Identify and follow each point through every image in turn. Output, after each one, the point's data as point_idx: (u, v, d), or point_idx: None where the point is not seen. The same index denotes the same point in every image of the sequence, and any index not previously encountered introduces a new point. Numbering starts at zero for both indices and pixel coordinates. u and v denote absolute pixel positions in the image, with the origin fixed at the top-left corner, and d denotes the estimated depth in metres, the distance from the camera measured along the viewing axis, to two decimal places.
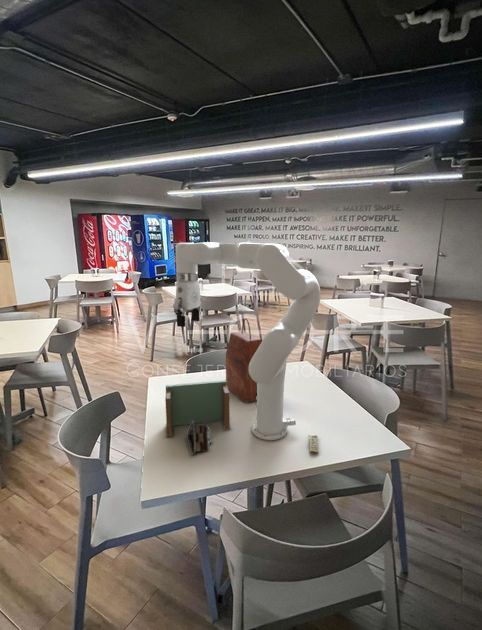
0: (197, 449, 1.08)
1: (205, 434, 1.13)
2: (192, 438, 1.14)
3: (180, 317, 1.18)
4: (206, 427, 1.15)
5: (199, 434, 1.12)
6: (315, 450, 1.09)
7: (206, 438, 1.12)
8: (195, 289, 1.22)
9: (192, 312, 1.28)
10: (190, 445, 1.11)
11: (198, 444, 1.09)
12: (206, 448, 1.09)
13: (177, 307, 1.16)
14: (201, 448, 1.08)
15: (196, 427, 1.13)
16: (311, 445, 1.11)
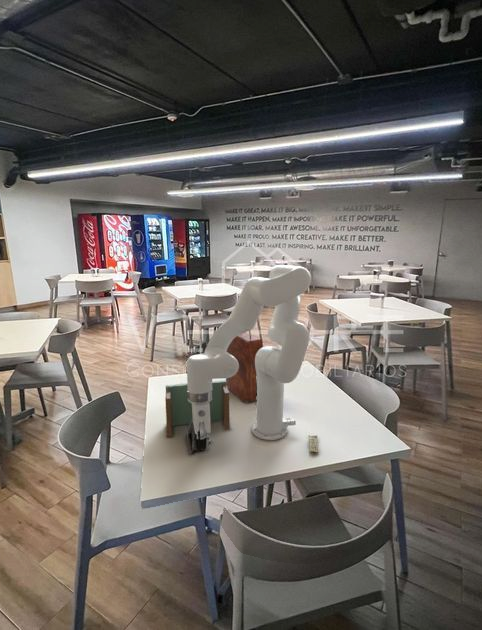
0: (195, 448, 1.08)
1: None
2: (192, 437, 1.15)
3: (202, 439, 1.05)
4: None
5: None
6: (315, 450, 1.09)
7: None
8: None
9: None
10: (189, 444, 1.12)
11: None
12: None
13: None
14: None
15: None
16: (311, 445, 1.11)
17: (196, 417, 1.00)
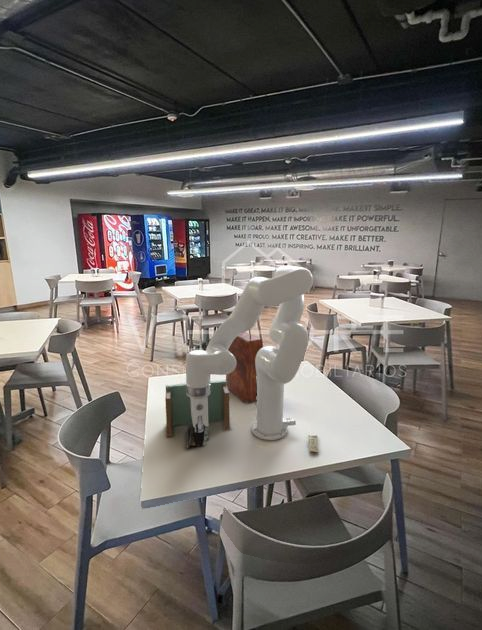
0: (192, 443, 1.11)
1: None
2: None
3: (199, 433, 1.08)
4: None
5: None
6: (315, 450, 1.09)
7: None
8: None
9: None
10: (188, 439, 1.15)
11: None
12: (201, 443, 1.12)
13: None
14: (196, 443, 1.11)
15: None
16: (311, 445, 1.11)
17: (194, 411, 1.03)
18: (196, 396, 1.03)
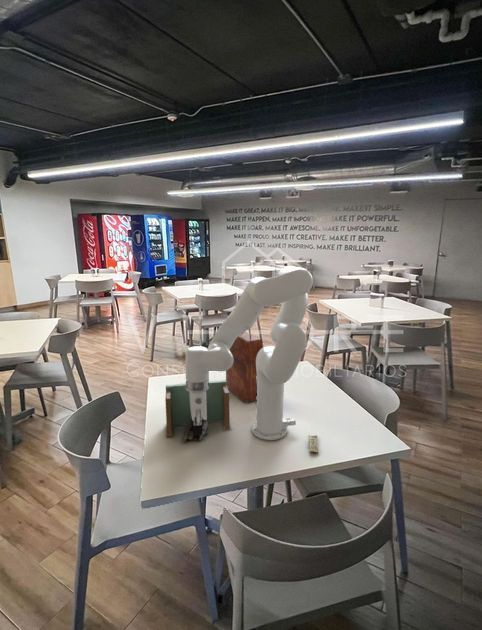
0: (189, 437, 1.14)
1: None
2: None
3: (198, 426, 1.12)
4: None
5: None
6: (315, 450, 1.09)
7: None
8: None
9: None
10: None
11: (192, 433, 1.16)
12: (198, 438, 1.15)
13: (200, 422, 1.09)
14: (193, 437, 1.15)
15: None
16: (311, 445, 1.11)
17: (193, 404, 1.07)
18: (195, 390, 1.07)
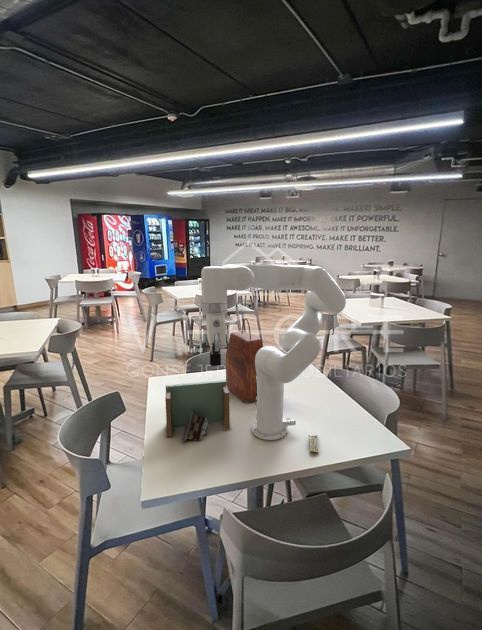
0: (189, 437, 1.14)
1: (201, 425, 1.18)
2: None
3: (216, 355, 1.03)
4: (204, 418, 1.20)
5: (195, 424, 1.18)
6: (315, 450, 1.09)
7: (201, 428, 1.17)
8: None
9: None
10: None
11: (192, 432, 1.16)
12: (198, 438, 1.15)
13: None
14: (193, 437, 1.15)
15: (194, 417, 1.20)
16: (311, 445, 1.11)
17: (211, 327, 0.97)
18: (213, 312, 0.97)
